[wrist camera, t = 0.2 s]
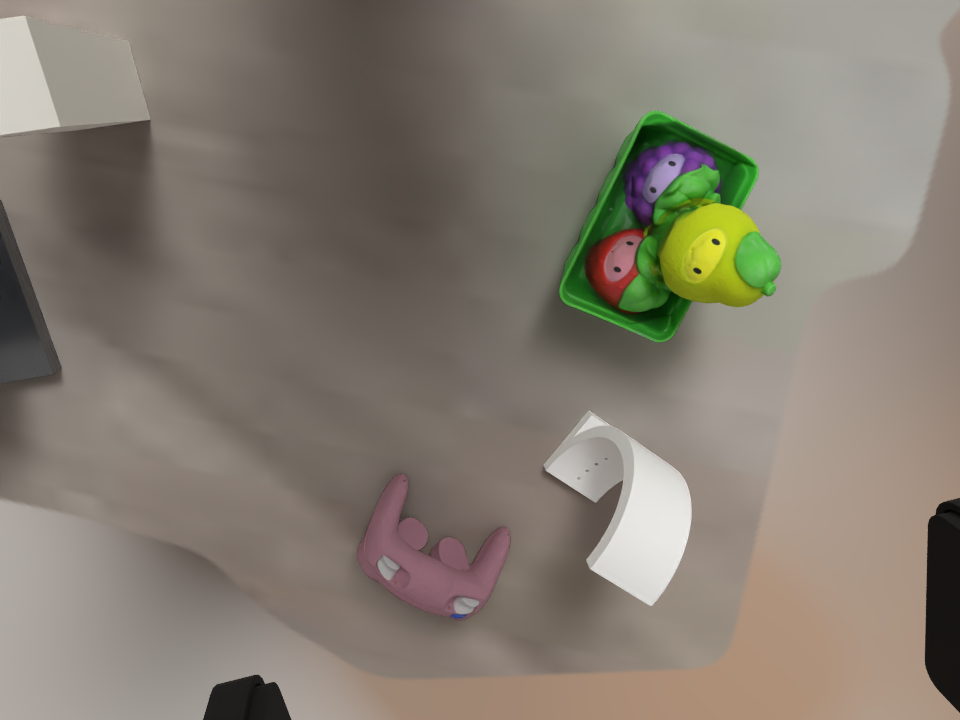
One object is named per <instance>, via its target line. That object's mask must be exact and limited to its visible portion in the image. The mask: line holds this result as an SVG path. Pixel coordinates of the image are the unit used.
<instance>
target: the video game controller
mask: <svg viewBox="0 0 960 720" xmlns="http://www.w3.org/2000/svg"><path fill="white" fill-rule="evenodd" d="M408 485H409V484H408V478H407V476H406V475H405V474H399V475H396V476H395V477H394V478H393V479H392V480H391V481H390V482H389V484H388V485H387V486H386V488H385V489H384V491H383V493H382V495H381V496H380V498H379V500H378V503H377V505H376V507H375V510H374V512H373V515H372V517H371V520H370V523H369V526H368V529H367V531H366V534H365V537H364V538H363V540H362V541H361V542H360V544H359V546H358V550H357V559H358V562H359V564H360V566H361V568H362V570H363V571H364V572H365V574H366V575H367V576H368V577H370V578H371V579H373V580H375V581H377V582H380V583H381V584H382V585H383V586H384V587H385V588H386V589H388V590H389V591H390V592H391V593H393V594H394V595H395V596H397V597H398V598H400V599H402V600H403V601H405V602H406V603H408V604H410V605H412V606H414V607H416V608H419V609H421V610H424V611H426V612H430V613H433V614H437V615H441V616H448V617H451V618H453V619H456V620H465V619H468V618H469V617H471V616H472V615H473V614H475V613H476V612H478V611H479V610H480V609H481V608H482V607H483V606H484V605H485V603H486V602H487V601H488V599H489V597H490V595H491V593H492V591H493V589H494V586H495V584H496V582H497V579H498V577H499V575H500V572H501V570H502V567H503V565H504V562H505V559H506V557H507V554H508V551H509V548H510V539H511V538H510V532H509V530H508V529H507V528H506V527H500V528H498V529H497V530H496V531H494V532H493V533H492V534H491V535H490V536H489V538H488V539H487V540H486V541H485V543H484V545H483V546H482V548H481V549H480V551H479V553H478V554H477V556H476V558H475V560H474V561H473V563H472V564H471V565H469V563H468V560H467V556H466V552H465V549H464V547H463V545H462V544H461V543H460V542H459V541H458V540H456V539H454V538H450V537H447V538H444V539H442V540H441V541H440V542H439V543H437V544H436V545H435V546H434V547H433V548H432V550H431V556H428V555H426V554H424V553H422V552H420V551H419V550H421V549H422V548H423V547H424V546H425V544H426V543H427V540H428V533H427V530H426V528H425V527H424V525H423V524H422V523H421V522H420V521H418V520H417V519H415V518H406V519H404V520H403V521H401V522H400V523H399V519H400V514H401V511H402V509H403V506H404V503H405V500H406V497H407V494H408Z"/></svg>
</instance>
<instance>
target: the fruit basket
mask: <svg viewBox="0 0 960 720" xmlns="http://www.w3.org/2000/svg"><path fill="white" fill-rule="evenodd" d="M615 165H616V166H615V168H613V169H612V171H611V172H610V173H609V174H608V176H607V178H606V180H605V182H604V184H603V186H602V188H601V190H600V193H599V195H598V200H597V206H595V207H594V208H593V210H591V212H590V214H589V216H588V218H587V220H586V222H585V224H584V226H583V228H582V230H581V233H580V238H579V243H577V244H576V246H575V247H574V248H573V249H572V251H571V253H570V255H569V257H568V259H567V261H566V263H565V265H564V272H563V277H562V280H561V283H560V288H559V295H560V298H561V300H562V301H563V302H564V303H565V304H567V305H568V306H571V307H573V308H576V309H579V310H581V311H584V312H586V313H589V314H591V315H593V316H596V317H598V318H601V319H603V320H605V321H608V322H610V323H613V324H615V325H617V326H620V327H622V328H624V329H627V330H629V331H631V332H633V333H636V334H638V335H640V336H642V337H645V338H647V339H649V340H651V341H654V342H659V343H661V342H665V341H667V340H669V339H670V338H672V337H673V336H674V334H675V332H676V331H677V329H678V327H679V325H680V323H681V321H682V319H683V317H684V315H685V313H686V312H687V310H688V308H689V306H690V304H691V302H692V301H696V302H702V303H722V304H725V305H728V306H732V307H743V306H747V305H750V304H752V303H754V302H755V301H757V300H758V299H759V298H761V297H762V296H763V295H766V296H771V295H772V294H773V293H774V292H775V290H776V285H775V284H774V283H773V281H774V279H775V278H776V277H777V276H778V274H779V272H780V269H781V260H780V257H779V255H778V253H777V252H776V251H775V249H774V248H773V247H771V246H770V245H769V244H768V243H767V242H766V241H765V240H764V239H763V237H762V236H761V234H760V232H759V230H758V228H757V226H756V224H755V223H754V222H753V220H752V219H751V218H750V217H749V216H748V215H747V214H745V213H744V212H743V211H741V209H742V207H743V205H744V203H745V202H746V200H747V198H748V196H749V194H750V192H751V190H752V189H753V186H754V184H755V182H756V181H757V178H758V173H759V169H758V166H757V164H756V162H755V161H754V160H753V159H752V158H751V157H749V156H747V155H745V154H743V153H741V152H738V151H736V150H735V149H733V148H731V147H729V146H727V145H725V144H723V143H721V142H720V141H718V140H716V139H714V138H712V137H710V136H708V135H706V134H704V133H702V132H700V131H698V130H696V129H694V128H692V127H690V126H688V125H686V124H685V123H683V122H681V121H679V120H677V119H675V118H673V117H671V116H669V115H667V114H665V113H663V112H660V111H652V112H649V113H647V114H646V115H645V116H644V117H643V118H642V119H641V120H640V121H639V123H638V124H637V125H636V127H635V129H634V130H633V131H632V132H631V133H630V134H629V135H628V136H627V137H626V139H625V140H624V142H623V145H622V147H621V149H620V151H619V153H618V155H617V158H616V164H615Z"/></svg>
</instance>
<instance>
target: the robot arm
mask: <svg viewBox="0 0 960 720" xmlns="http://www.w3.org/2000/svg"><path fill="white" fill-rule="evenodd" d="M926 592H927V593H926V635H925V665H926V669H927V672H928V674H929V677H930V679H931V681H932V682H933V684H934V685H935V687H936V688H937V689H938V690H939V691H940V692H941V693H942V694H943V696H944V697H945V698H946V699H947V700H948V701H949V702H950V703H951V704H952V705H953V706H954V707H955V708H956V709H957V710H958V711H959V712H960V498H958V499H954V500H950V501H946V502H943V503H941V504H939V506H938V507H937V509H936V515H935V516H932V517H931V518H930V520H929V523H928V547H927V591H926ZM203 720H291V718H290V715H289V713H288V710H287V707H286V705H285V702H284V699H283V697H282V694H281V692H280V689H279V687H278V685H277V684H276V683H275V682H272V683H268V684H265V683H264V681H263V679H262V678H261V677H260V676H259V675H253V676H249V677H245V678H241V679H237V680H233V681H229V682H225V683H221V684H217V685H216V686H215V687H214V688H213V690H212V692H211V695H210V698H209V702H208V705H207V708H206V712H205V715H204V719H203Z"/></svg>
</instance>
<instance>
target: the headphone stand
mask: <svg viewBox="0 0 960 720" xmlns="http://www.w3.org/2000/svg"><path fill="white" fill-rule="evenodd" d="M543 466H544V468H545V470H546V471H547V472H549V473H550V474H552V475H553V476H555V477H556V478H558V479H559V480H561V481H563V482H564V483H566V484H567V485H569V486H570V487H572V488H573V489H575V490H576V491H578V492H580V493H581V494H583V495H584V496H586V497H587V498H589V499H590V500H592V501H593V502H595V503H596V502H597V501H598V500H599V499H600V498H601V497H602V496H603V495H604V494H605V493H606V492H607V491H608V490H609V489H610V488H612V487H613V486H614V485H616V484H617V483H619V482H620V481H622V480H623V486H622V491H621V495H620V499H619V502H618V505H617V508H616V511H615V513H614V516H613V518H612V520H611V522H610V524H609V526H608V528H607V530H606V532H605V534H604V535H603V537H602V539H601V540H600V542H599V543H598V545H597V546H596V548H595V549H594V551H593V552H592V553H591V554H590V556H589V557H588V558H587V559H586V561H587V563H588V566H589V568H590V569H591V570H592V571H594V572H596V573H597V574H599V575H601V576H602V577H604V578H605V579H607V580H609V581H610V582H612V583H614V584H615V585H617V586H619V587H620V588H622V589H624V590H625V591H627V592H628V593H630V594H632V595H633V596H635V597H637V598H638V599H640V600H642V601H643V602H645V603H646V604H648V605H650V606H652V605H653V604H654V603H655V602H656V600H657V599H658V598H659V597H660V595H661V594H662V593H663V591H664V590H665V588H666V587H667V585H668V584H669V582H670V580H671V579H672V577H673V575H674V573H675V571H676V569H677V567H678V565H679V563H680V560H681V558H682V555H683V553H684V550H685V547H686V543H687V540H688V536H689V531H690V524H691V510H692V509H691V498H690V493H689V489H688V486H687V484H686V482H685V480H684V478H683V477H682V475H681V474H680V473H679V472H678V471H677V470H676V469H675V468H674V467H672V466H671V465H670V464H668V463H667V462H665V461H664V460H662V459H661V458H659V457H658V456H657V455H655V454H654V453H652V452H651V451H649V450H648V449H647V448H645V447H644V446H642V445H641V444H639V443H638V442H637V441H635V440H634V439H632V438H631V437H629V436H628V435H626V434H625V433H624V432H622V431H621V430H619V429H617V428H615V427H613V426H611V425H610V424H608V423H607V422H605V421H604V420H602V419H601V418H600V417H598V416H597V415H595V414H594V413H592V412H591V411H590V410H588V411H587V413H586V414H585V415H584V416H583V417H582V419H581V420H580V421H579V422H578V424H577V425H576V426H575V427H574V428H573V430H572V431H571V432H570V433H569V434H568V436H567V437H566V438H565V439H564V440H563V442H562V443H561V444H560V445H559V447H558V448H557V449H556V450H555V451H554V453H553V454H552V455H551V456H550V457H549V459H548V460H547V461H546V462H545V463H544V465H543Z"/></svg>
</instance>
